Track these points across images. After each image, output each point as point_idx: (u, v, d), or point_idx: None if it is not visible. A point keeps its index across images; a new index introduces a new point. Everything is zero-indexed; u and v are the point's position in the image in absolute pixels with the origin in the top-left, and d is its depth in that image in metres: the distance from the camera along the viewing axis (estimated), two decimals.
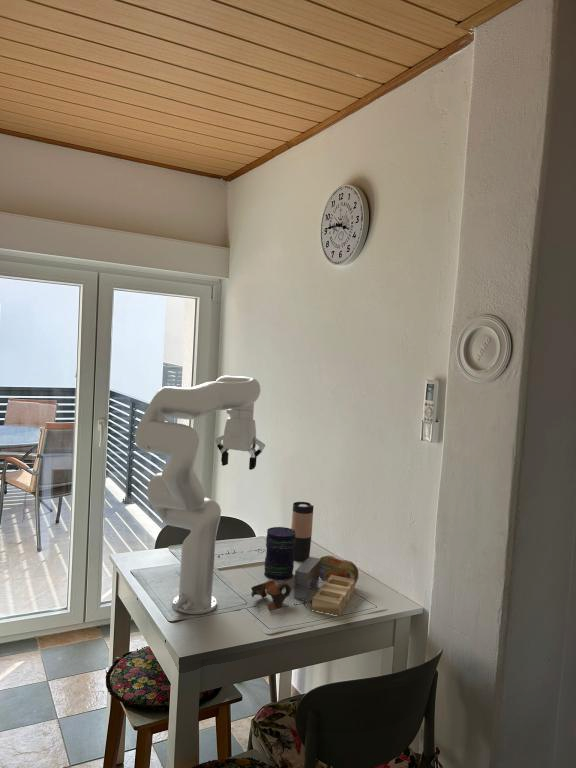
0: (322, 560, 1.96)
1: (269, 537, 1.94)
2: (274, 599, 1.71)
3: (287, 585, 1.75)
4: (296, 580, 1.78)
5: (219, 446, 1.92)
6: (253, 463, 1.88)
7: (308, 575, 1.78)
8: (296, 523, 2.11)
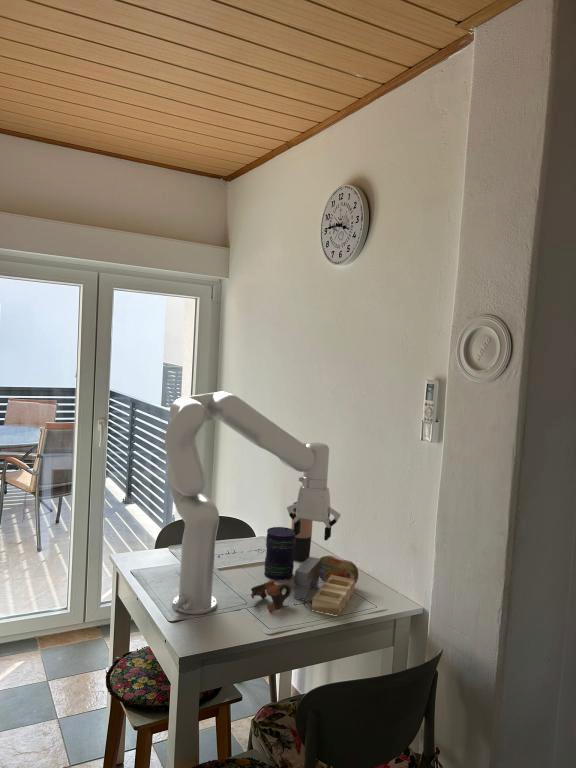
0: (322, 560, 1.96)
1: (269, 537, 1.94)
2: (274, 600, 1.70)
3: (287, 586, 1.75)
4: (296, 580, 1.78)
5: (291, 515, 1.85)
6: (328, 533, 1.81)
7: (308, 575, 1.78)
8: None
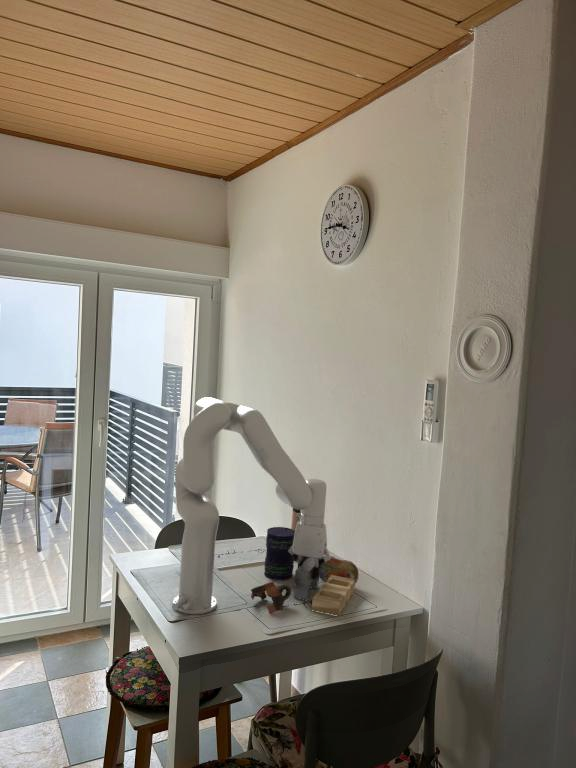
0: None
1: (269, 537, 1.94)
2: (275, 601, 1.69)
3: (287, 587, 1.74)
4: (296, 580, 1.78)
5: (295, 556, 1.85)
6: (316, 572, 1.83)
7: (308, 575, 1.78)
8: (296, 523, 2.11)
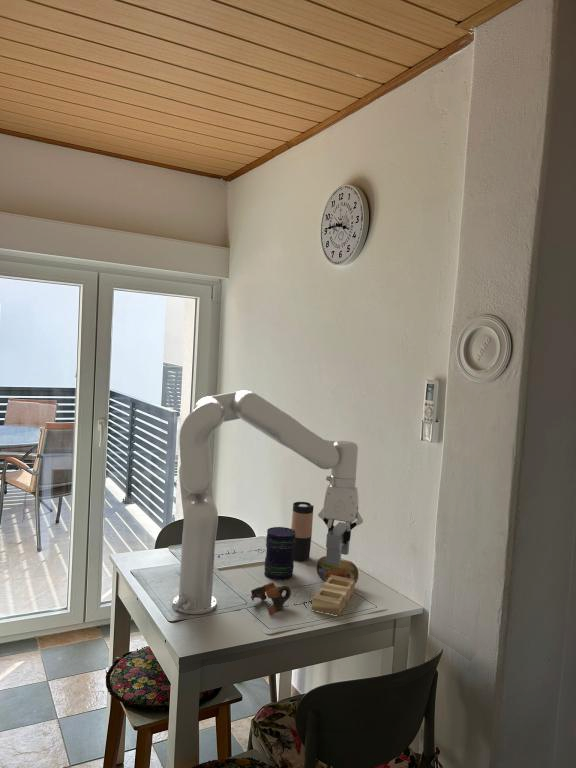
0: (322, 560, 1.96)
1: (269, 537, 1.94)
2: (275, 602, 1.68)
3: (287, 588, 1.73)
4: (328, 544, 1.73)
5: (325, 520, 1.79)
6: (348, 537, 1.77)
7: (340, 538, 1.72)
8: (296, 523, 2.11)
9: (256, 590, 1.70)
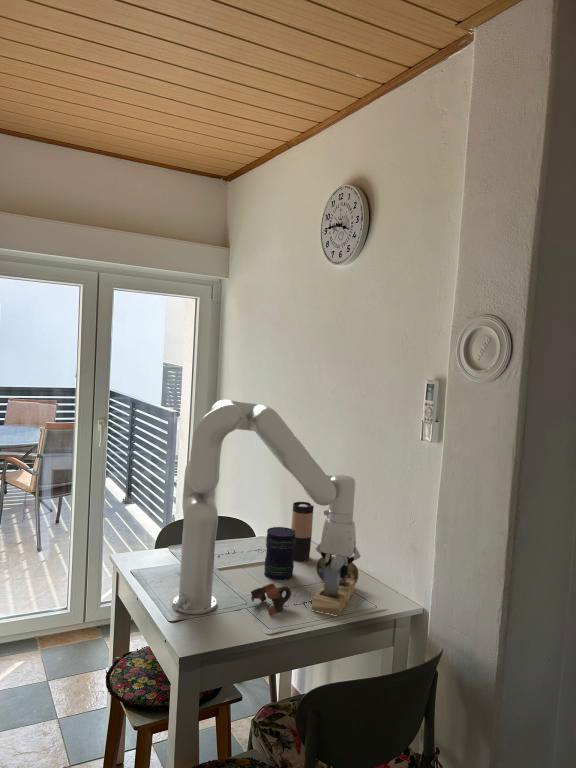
0: (322, 560, 1.96)
1: (269, 537, 1.94)
2: (275, 603, 1.68)
3: (287, 588, 1.73)
4: (325, 579, 1.73)
5: (323, 554, 1.80)
6: (345, 571, 1.77)
7: (338, 574, 1.73)
8: (296, 523, 2.11)
9: (256, 591, 1.70)
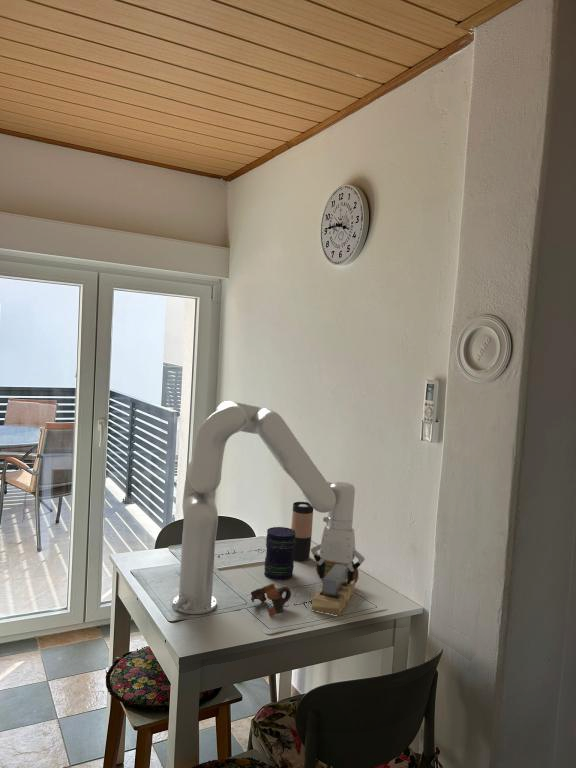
0: None
1: (269, 537, 1.94)
2: (275, 604, 1.67)
3: (287, 589, 1.73)
4: (324, 589, 1.73)
5: (316, 557, 1.80)
6: (351, 577, 1.77)
7: (336, 584, 1.73)
8: (296, 523, 2.11)
9: (256, 592, 1.69)
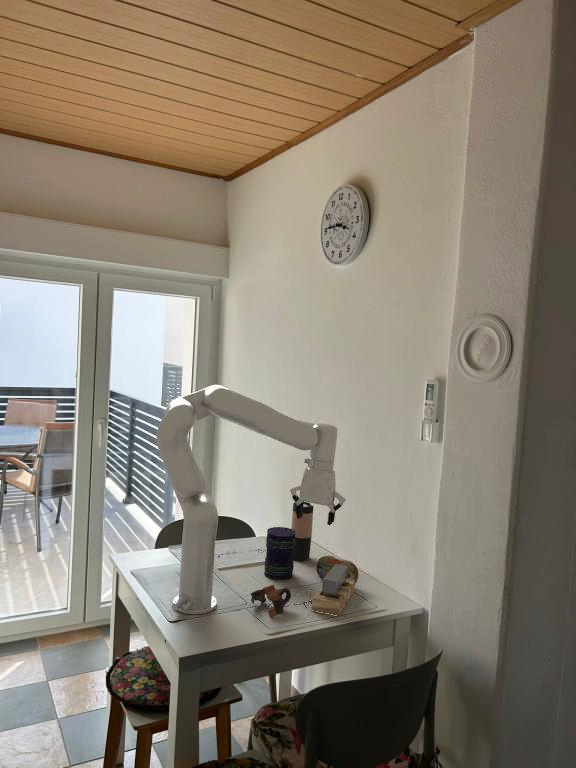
0: (322, 560, 1.96)
1: (269, 537, 1.94)
2: (275, 605, 1.67)
3: (287, 590, 1.72)
4: (324, 589, 1.73)
5: (294, 497, 1.78)
6: (332, 518, 1.74)
7: (336, 584, 1.73)
8: (296, 523, 2.11)
9: (256, 593, 1.68)
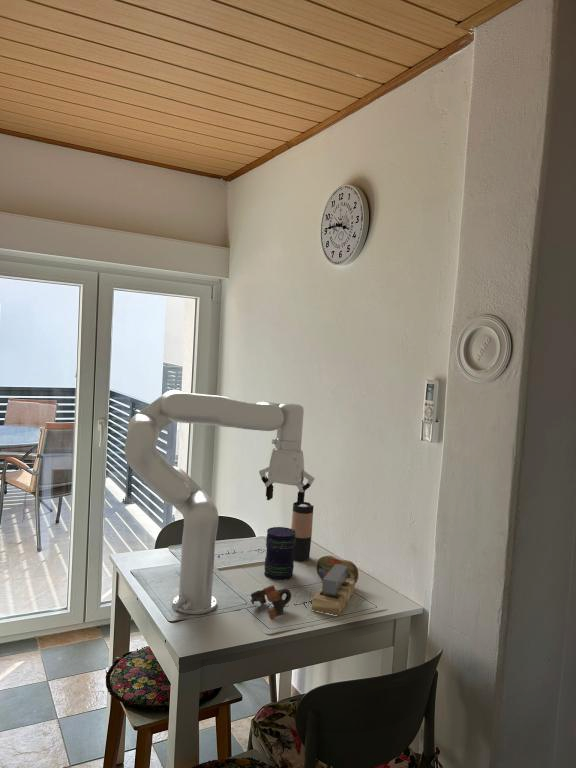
0: (322, 560, 1.96)
1: (269, 537, 1.94)
2: (275, 606, 1.66)
3: (287, 591, 1.71)
4: (324, 589, 1.73)
5: (263, 479, 1.77)
6: (301, 498, 1.73)
7: (336, 584, 1.73)
8: (296, 523, 2.11)
9: (256, 594, 1.68)
